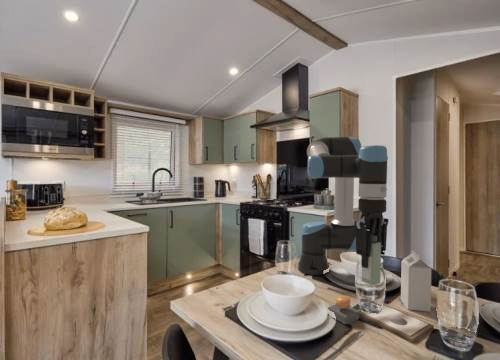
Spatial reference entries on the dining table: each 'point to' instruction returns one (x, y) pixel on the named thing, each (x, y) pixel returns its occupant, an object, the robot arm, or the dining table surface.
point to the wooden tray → (399, 323)
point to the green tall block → (374, 262)
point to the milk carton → (415, 283)
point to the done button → (343, 301)
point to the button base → (345, 314)
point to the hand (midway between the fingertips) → (370, 276)
